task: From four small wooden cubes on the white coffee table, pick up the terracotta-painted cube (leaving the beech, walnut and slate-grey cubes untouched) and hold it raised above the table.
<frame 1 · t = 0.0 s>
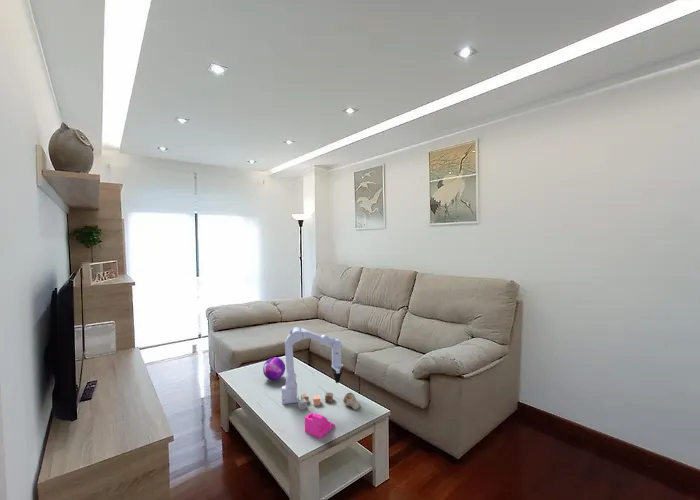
hand: (336, 379, 200), 10 cm above the table, fingers open, 7 cm apart
cream patterned bulbous figurine: (352, 406, 188), on the table
bracket: (320, 429, 167), on the table
beech cube: (304, 401, 194), on the table
walnut cube: (329, 400, 195), on the table
slate cube: (302, 407, 188), on the table
terracotta cube: (316, 403, 191), on the table
decorative orb: (274, 379, 224), on the table
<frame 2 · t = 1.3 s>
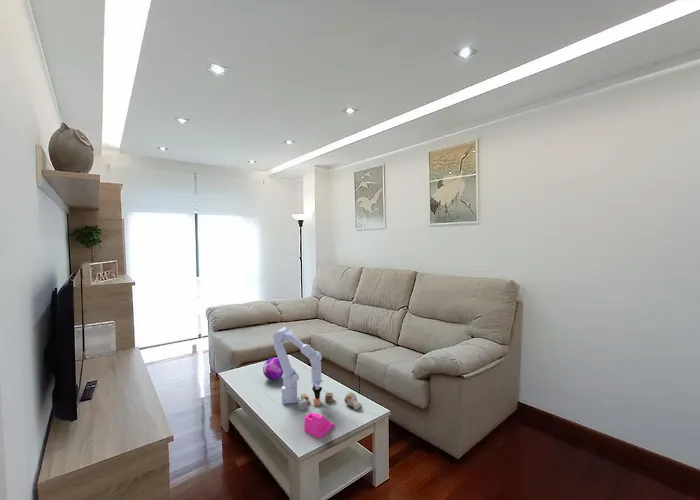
hand: (316, 395, 191), 5 cm above the table, fingers open, 7 cm apart
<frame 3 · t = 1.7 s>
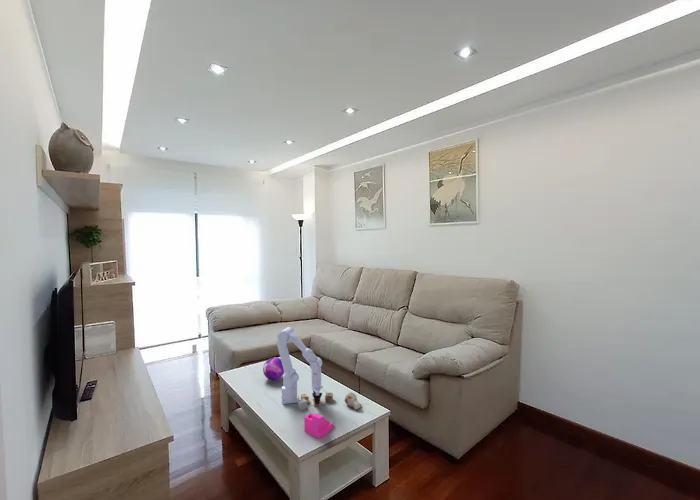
hand: (316, 401, 191), 1 cm above the table, fingers open, 7 cm apart
nothing on the table moved.
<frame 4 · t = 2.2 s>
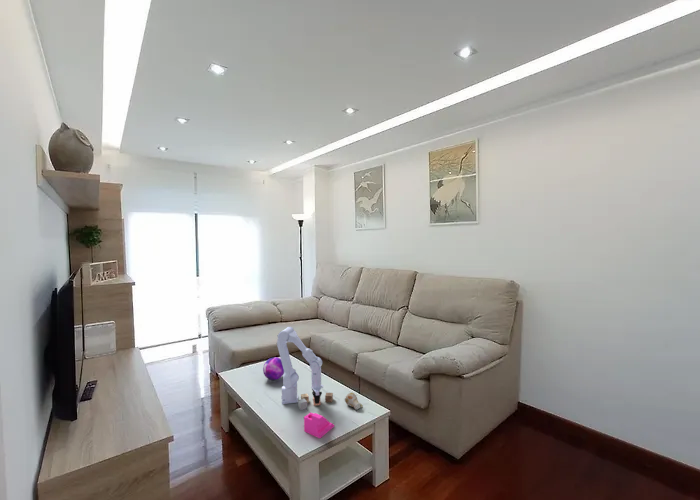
hand: (316, 401, 191), 1 cm above the table, fingers closed on terracotta cube, 4 cm apart
terracotta cube: (316, 403, 191), on the table, touching gripper
everything else where it was.
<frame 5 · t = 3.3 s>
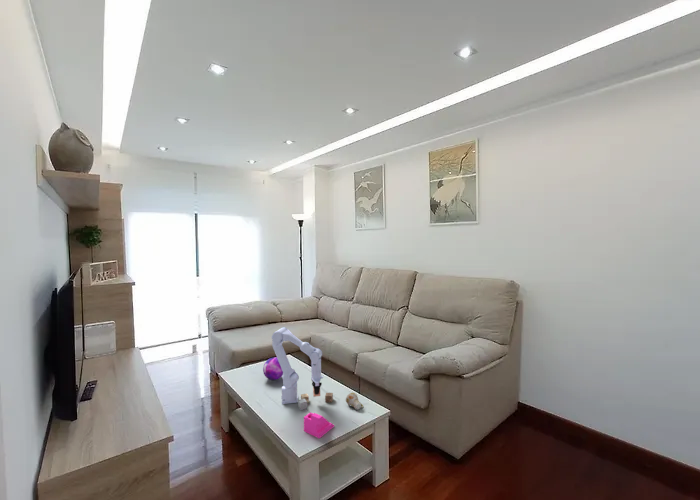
hand: (316, 392, 191), 7 cm above the table, fingers closed on terracotta cube, 4 cm apart
terracotta cube: (316, 394, 191), point 5 cm above the table, touching gripper
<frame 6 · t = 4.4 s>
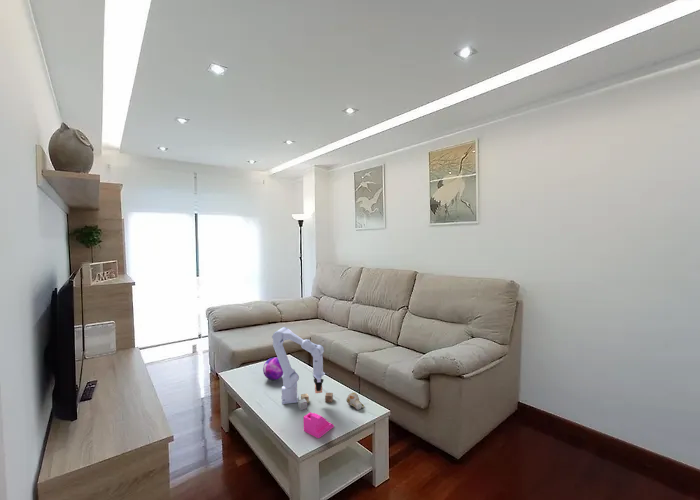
hand: (318, 388, 190), 9 cm above the table, fingers closed on terracotta cube, 4 cm apart
terracotta cube: (318, 391, 190), point 8 cm above the table, touching gripper
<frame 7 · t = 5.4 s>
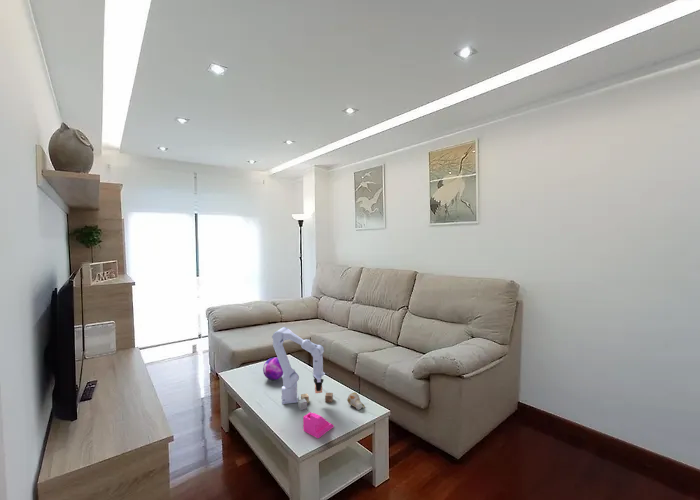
hand: (318, 388, 190), 9 cm above the table, fingers closed on terracotta cube, 4 cm apart
terracotta cube: (318, 391, 190), point 8 cm above the table, touching gripper
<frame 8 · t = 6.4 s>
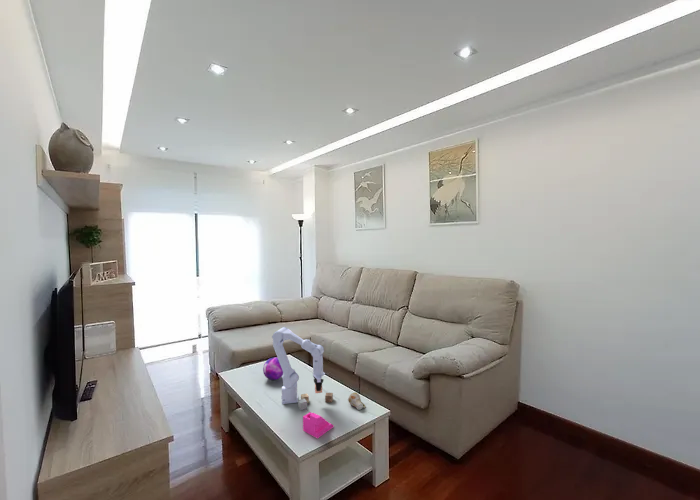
hand: (318, 388, 190), 9 cm above the table, fingers closed on terracotta cube, 4 cm apart
terracotta cube: (318, 391, 190), point 8 cm above the table, touching gripper
at the end: the gripper is holding terracotta cube; terracotta cube point 7.9 cm above the table; beech cube moved 0.1 cm from its start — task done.
